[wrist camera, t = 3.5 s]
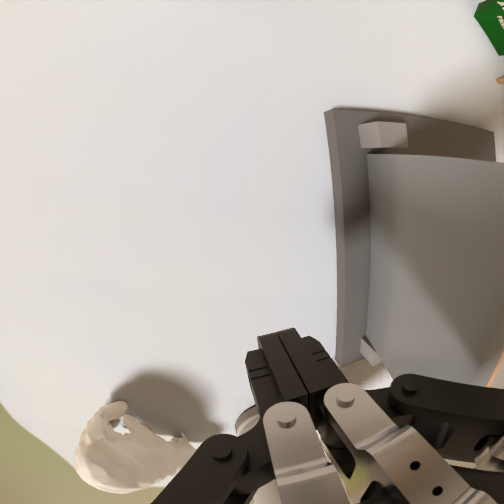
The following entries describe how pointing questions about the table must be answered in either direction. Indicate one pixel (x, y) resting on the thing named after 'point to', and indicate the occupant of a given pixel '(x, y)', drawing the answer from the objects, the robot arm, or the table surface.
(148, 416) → the table surface
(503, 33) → the milk carton
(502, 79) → the ice cream cone
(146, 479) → the beige irregular lump
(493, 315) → the tile
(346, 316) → the base
